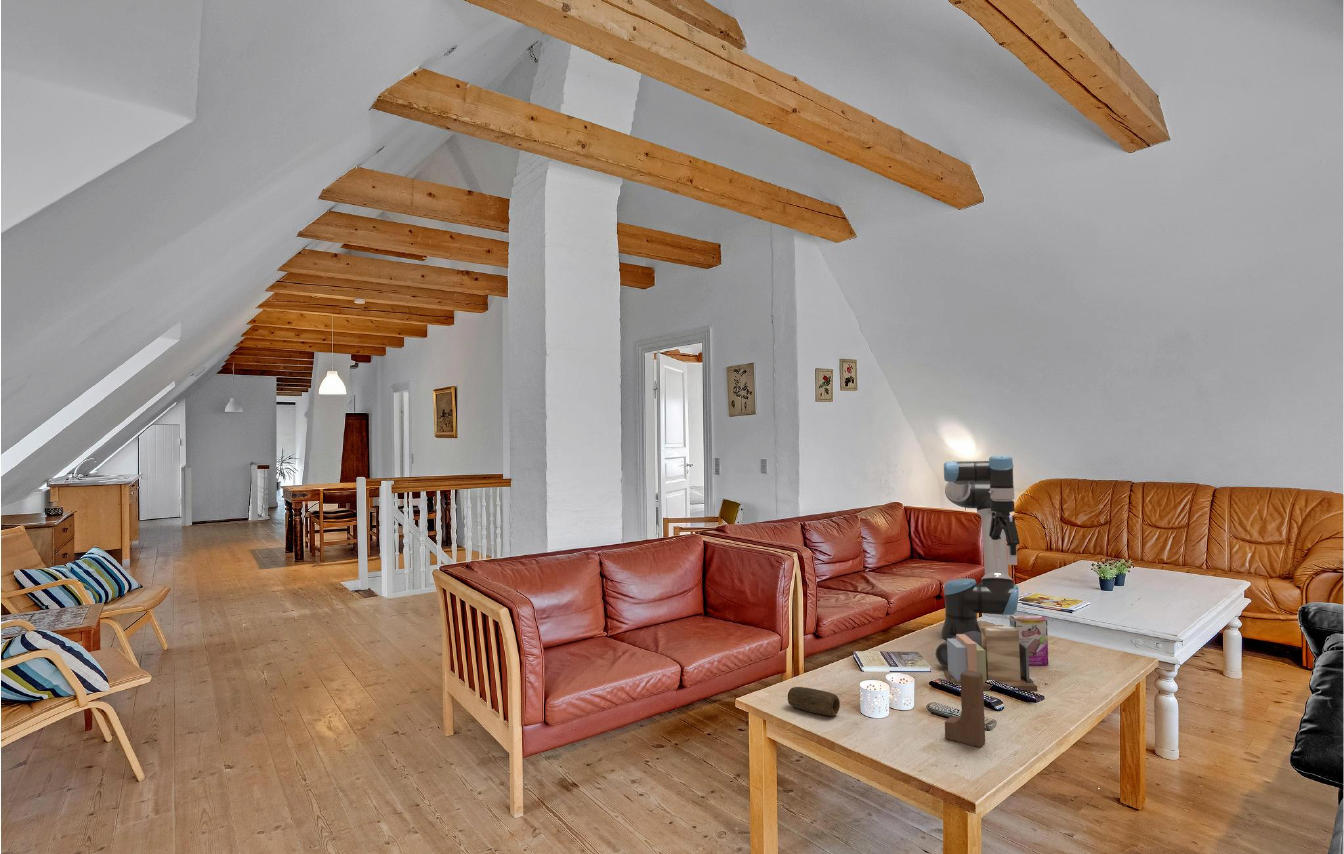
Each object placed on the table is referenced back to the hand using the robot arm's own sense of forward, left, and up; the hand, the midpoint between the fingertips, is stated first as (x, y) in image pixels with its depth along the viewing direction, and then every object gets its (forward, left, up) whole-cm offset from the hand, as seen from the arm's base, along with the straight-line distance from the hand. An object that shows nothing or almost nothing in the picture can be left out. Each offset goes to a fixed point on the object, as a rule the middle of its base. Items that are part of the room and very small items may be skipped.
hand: (1004, 561), depth 232 cm
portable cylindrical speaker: (+41, -71, -37) cm, 90 cm away
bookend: (+15, -1, -35) cm, 38 cm away
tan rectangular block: (+15, -8, -35) cm, 39 cm away
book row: (+15, -19, -35) cm, 42 cm away
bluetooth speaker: (-4, -14, -37) cm, 40 cm away
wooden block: (+59, -34, -37) cm, 77 cm away
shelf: (+15, -12, -37) cm, 41 cm away
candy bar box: (-5, +9, -37) cm, 38 cm away
